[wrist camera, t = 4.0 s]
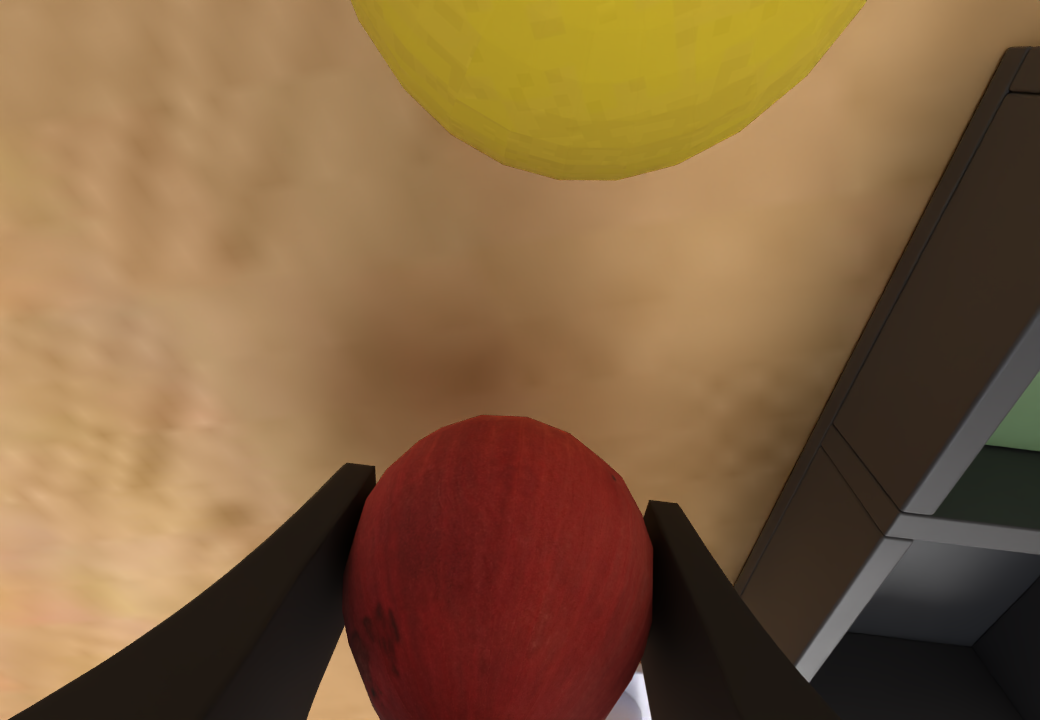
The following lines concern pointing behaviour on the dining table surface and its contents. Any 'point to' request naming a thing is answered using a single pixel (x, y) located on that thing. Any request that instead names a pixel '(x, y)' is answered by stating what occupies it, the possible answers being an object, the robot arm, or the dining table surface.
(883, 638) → the divided tray
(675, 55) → the lemon
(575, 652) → the onion
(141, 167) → the dining table surface
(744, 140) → the dining table surface
